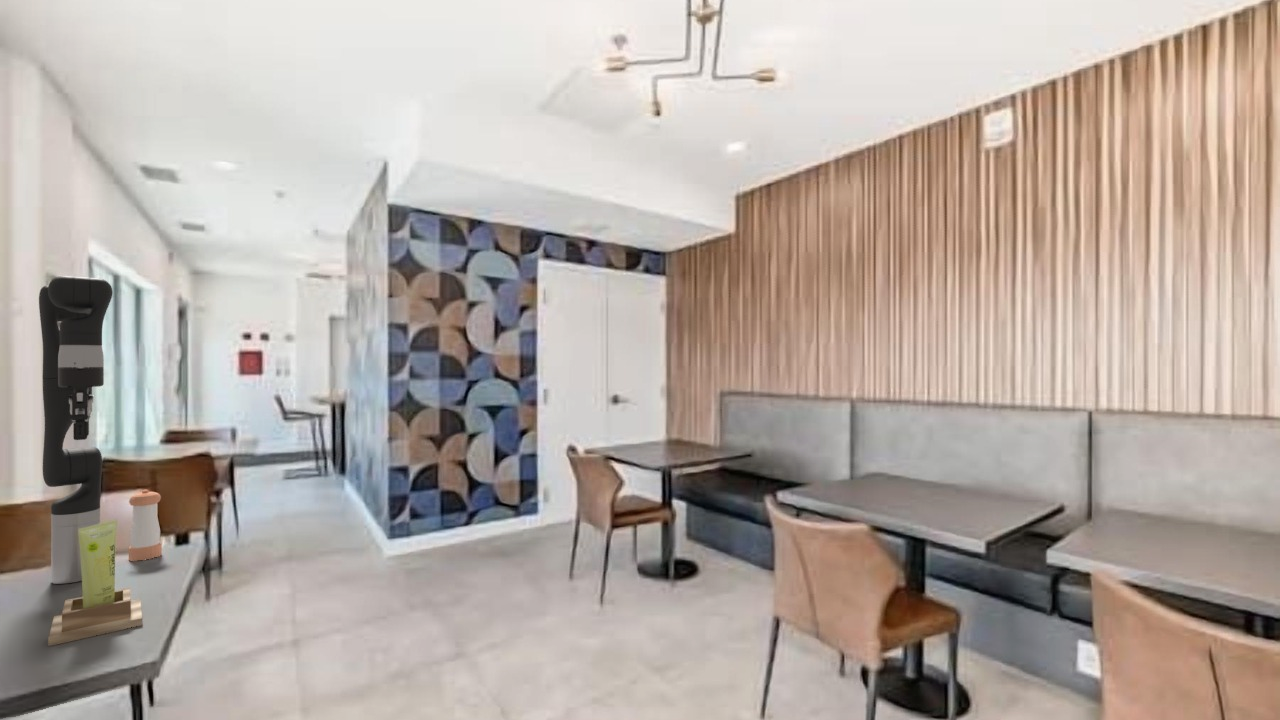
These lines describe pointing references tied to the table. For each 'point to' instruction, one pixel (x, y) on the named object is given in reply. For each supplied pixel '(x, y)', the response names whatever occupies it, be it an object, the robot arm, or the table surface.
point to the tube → (98, 563)
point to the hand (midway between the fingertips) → (81, 437)
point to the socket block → (95, 618)
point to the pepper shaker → (145, 526)
